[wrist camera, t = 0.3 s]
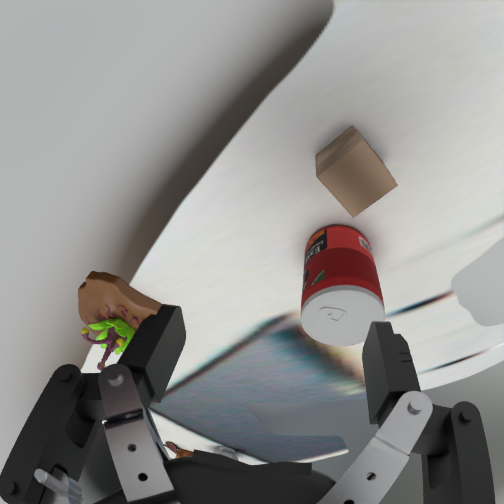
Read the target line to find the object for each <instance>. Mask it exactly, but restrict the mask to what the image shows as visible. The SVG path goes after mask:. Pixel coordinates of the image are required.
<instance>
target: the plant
mask: <svg viewBox="0 0 504 504" xmlns="http://www.w3.org/2000/svg"><path fill="white" fill-rule="evenodd" d="M78 296H79V297H78V298H79V314H80V317H81V319H82V320H83V322H84V323H85V324H86V325H87V326H88V328H89V329H90V330H91V331H92V332H93V333H94V334H95V335H97V336H98V337H97V340H91V339H90V338H89V337H88V335H89V331H88V329H87V328H83V329H82V331H81V333H82V336H83V337H84V339H86V340H87V341H89V342H91V343H92V344H101V347H102V348H106V351H105V353H104V355H103V358H102V361H101V362H99V363H98V365H97V368H98V369H99V370H103V369H104V368H105V361H106V360H107V359H108V357H109V355H110V354H111V352H113V351H115V353H116V354H117V355H118V354H120V352H124V350H125V348H126V347H127V345H128V343H129V342H130V340H131V338H133V335H134V333H135V332H136V331H137V328H138V327H139V325H140V323H141V322H142V321H143V320H144V319H145V318H146V317H148V316H149V315H150V314H154V315H156V314H157V312H158V310H159V308H160V307H161V305H162V304H161V303H159V302H158V301H156V300H154V299H151V298H149V297H147V296H145V295H143V294H142V293H140V292H138V291H137V290H135V289H134V288H132V287H131V286H129V284H128V283H126V282H125V281H124V280H123V279H122V278H121V277H119V276H116V275H112V274H110V273H107V272H96V271H91V273H90V274H89V275H88V276H87V278H86V282H84V283H83V284H82V285H81V286H80V288H79V289H78Z"/></svg>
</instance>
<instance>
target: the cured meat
mask: <svg viewBox="0 0 504 504" xmlns="http://www.w3.org/2000/svg"><path fill="white" fill-rule="evenodd" d="M165 444H168V445H164V446H166V447H168V448H169V449H170V450H172V451H173V452H174V453H175V454H177V455H176V458H178V457H183V456H192V455H193V453H192V452H189V451H185V450H182V449H178V451H177V449H176V447H175V446H174V445H173V444H172V443H170V442H168V443H165Z"/></svg>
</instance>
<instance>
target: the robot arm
mask: <svg viewBox="0 0 504 504" xmlns="http://www.w3.org/2000/svg"><path fill="white" fill-rule="evenodd" d="M185 340H186V330H185V325H184V320H183V315H182V310H181V307H180V306H175V305H167V304H162V305H161V307H160V308H159V310H158V312H157V314H156V315H154V314H150V315H149V316H148V317H146V318H145V319H144V320H143V321H142V322H141V323H140V325H139V327H138V328H137V331H136V332H135V333H134V335H133V338H131V340H130V342H129V343H128V345H127V347H126V348H125V350H124V352H123V354H122V355H121V357H120V359H119V360H118V362H117V364H111V365H109V366H107V367H105V368H104V369H103V370H102V371H101V372H100V373H81V371H80V369H79V368H78V367H77V366H75V365H72V364H66V365H63V366H61V367H59V368H58V369H57V370H56V371H55V372H54V374H53V375H52V377H51V378H50V380H49V382H48V384H47V385H46V387H45V389H44V390H43V392H42V394H41V395H40V397H39V399H38V401H37V402H36V404H35V406H34V408H33V410H32V412H31V413H30V415H29V417H28V419H27V421H26V423H25V425H24V427H23V428H22V431H21V432H20V434H19V436H18V438H17V440H16V442H15V445H14V446H13V448H12V451H11V453H10V455H9V457H8V459H7V461H6V463H5V466H4V468H3V470H2V472H1V475H0V496H1V498H2V499H3V500H4V501H5V502H7V503H8V504H81V503H82V501H83V497H82V489H81V487H80V485H79V484H78V481H79V478H80V476H81V473H82V470H83V468H84V465H85V462H86V460H87V457H88V455H89V452H90V450H91V447H92V445H93V442H94V440H95V437H96V435H97V433H98V430H99V428H100V425H101V423H102V421H103V420H107V421H106V422H104V427H105V432H106V436H107V440H108V443H109V447H110V450H111V454H112V457H113V460H114V464H115V467H116V470H117V473H118V476H119V479H120V482H121V485H122V489H120V490H118V491H116V492H115V493H113V494H111V495H109V496H107V497H105V498H103V499H102V500H100V501H98V502H96V503H94V504H378V503H379V502H380V501H381V499H382V498H383V497H384V495H385V494H386V493H387V491H388V490H389V488H390V487H391V485H392V484H393V482H394V481H395V480H396V478H397V477H398V475H399V474H400V472H401V471H402V469H403V468H404V466H405V464H406V463H407V461H408V459H409V453H410V452H413V453H419V454H421V458H422V471H423V496H424V504H495V494H494V485H493V478H492V471H491V464H490V458H489V453H488V447H487V442H486V437H485V433H484V428H483V425H482V420H481V416H480V412H479V410H478V409H477V407H476V406H475V405H473V404H472V403H470V402H466V401H463V402H459V403H457V404H456V405H455V406H454V407H453V408H447V407H442V406H437V405H434V404H432V402H431V400H430V399H429V398H428V397H427V396H426V395H425V394H424V393H421V390H420V386H419V382H418V378H417V374H416V371H415V367H414V364H413V362H412V361H413V360H412V357H411V354H410V350H409V346H408V343H407V342H406V340H405V339H404V338H403V337H402V335H401V334H394V333H393V329H392V326H391V323H390V322H385V321H372V323H371V325H370V328H369V331H368V334H367V338H366V341H365V344H364V347H363V352H362V361H363V368H364V376H365V383H366V392H367V400H368V409H369V418H370V424H378V425H379V431H378V432H377V434H376V435H375V436H374V437H373V439H372V440H371V441H370V443H369V444H368V445H367V447H366V448H365V449H364V451H363V452H362V453H361V454H360V456H359V457H358V458H357V459H356V461H355V462H354V463H353V464H352V466H351V467H350V468H349V469H348V470H347V471H346V473H345V474H344V475H343V476H342V477H341V478H340V480H339V481H338V482H336V481H335V480H333V479H332V478H330V477H329V476H327V475H325V474H323V473H321V472H318V471H315V470H312V469H311V468H312V463H298V462H277V463H269V464H261V465H248V464H245V463H243V462H240V461H237V460H235V459H232V458H230V457H227V456H225V455H222V454H216V453H210V452H205V451H200V450H195V449H194V452H193V455H192V456H183V457H178V458H174V459H172V460H171V459H170V457H169V455H168V453H167V451H166V449H165V447H164V445H163V443H162V441H161V438H160V436H159V433H158V431H157V428H156V426H155V423H154V421H153V418H152V416H151V413H150V410H149V405H150V403H151V401H153V402H157V403H160V402H161V400H162V397H163V395H164V392H165V390H166V388H167V385H168V383H169V380H170V378H171V376H172V373H173V371H174V368H175V366H176V364H177V361H178V359H179V357H180V354H181V352H182V350H183V347H184V345H185Z"/></svg>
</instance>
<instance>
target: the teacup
mask: <svg viewBox="0 0 504 504" xmlns="http://www.w3.org/2000/svg"><path fill="white" fill-rule="evenodd" d="M234 452H235V450H234V449H231V448H228V447H219V450H217V451H214V452H213V453H216V454H222V455H225V456H227V457H230V458H232V459H235V460H237V461H238V457H237V456H236V455H235V454H234Z"/></svg>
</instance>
